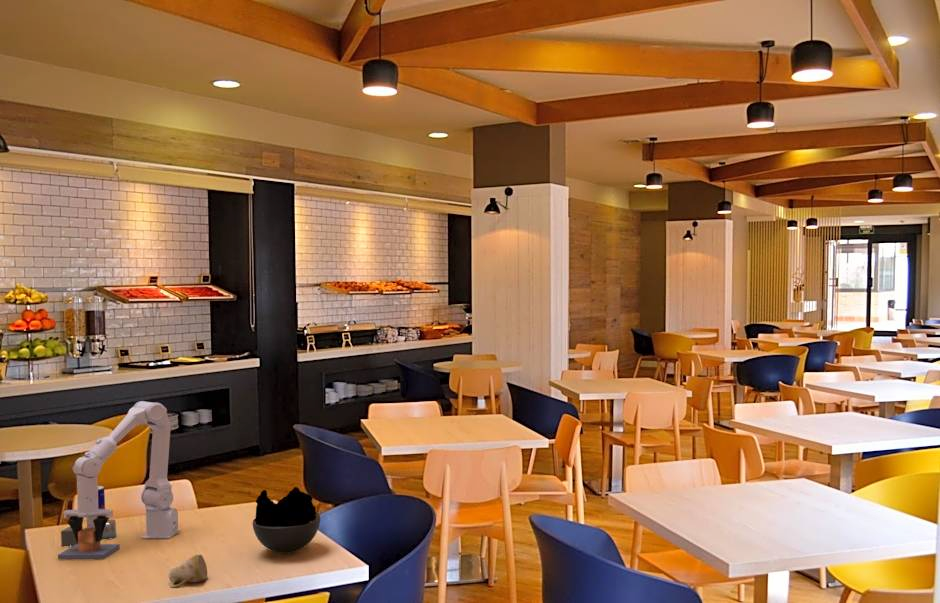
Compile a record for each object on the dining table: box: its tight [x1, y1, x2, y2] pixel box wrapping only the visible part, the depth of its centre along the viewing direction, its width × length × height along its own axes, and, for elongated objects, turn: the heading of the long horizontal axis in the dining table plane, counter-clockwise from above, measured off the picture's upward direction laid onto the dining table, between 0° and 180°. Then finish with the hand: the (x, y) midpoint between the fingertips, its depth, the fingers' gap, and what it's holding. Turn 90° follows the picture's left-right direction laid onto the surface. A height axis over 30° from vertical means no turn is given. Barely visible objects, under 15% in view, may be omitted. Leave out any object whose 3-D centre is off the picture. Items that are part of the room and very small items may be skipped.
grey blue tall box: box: [86, 485, 106, 528], centre depth 272 cm, size 6×6×15 cm
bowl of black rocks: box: [252, 486, 321, 554], centre depth 247 cm, size 20×20×19 cm
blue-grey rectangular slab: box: [57, 543, 121, 560], centre depth 249 cm, size 14×10×2 cm
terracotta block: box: [78, 527, 101, 552], centre depth 249 cm, size 4×4×6 cm
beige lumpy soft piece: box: [168, 554, 208, 589], centre depth 223 cm, size 8×10×10 cm
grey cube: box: [102, 519, 117, 540], centre depth 266 cm, size 5×5×5 cm
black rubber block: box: [60, 526, 84, 547], centre depth 260 cm, size 4×4×5 cm
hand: (89, 540), depth 249 cm, fingers open, 6 cm apart
